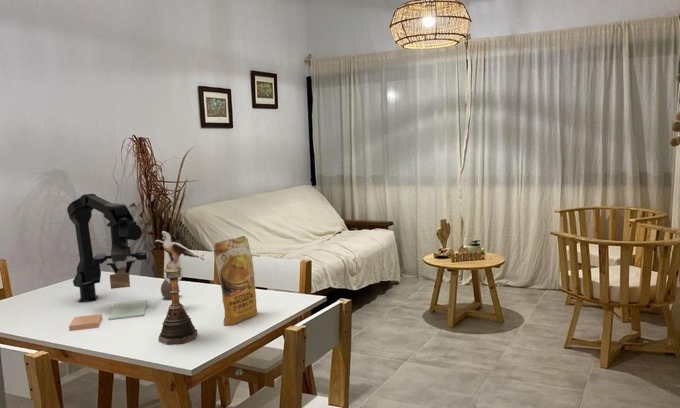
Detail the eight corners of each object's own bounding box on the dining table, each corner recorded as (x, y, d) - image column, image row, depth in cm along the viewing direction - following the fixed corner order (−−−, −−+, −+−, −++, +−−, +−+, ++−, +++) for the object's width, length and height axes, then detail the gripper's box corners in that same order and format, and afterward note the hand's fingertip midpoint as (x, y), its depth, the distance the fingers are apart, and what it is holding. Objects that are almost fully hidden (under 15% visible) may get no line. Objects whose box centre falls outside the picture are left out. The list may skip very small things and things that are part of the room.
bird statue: (191, 324, 189) (183, 222, 185) (216, 331, 181) (209, 224, 177) (148, 339, 176) (139, 230, 172) (173, 347, 168) (164, 233, 164)
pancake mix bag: (211, 325, 187) (206, 243, 184) (250, 309, 203) (246, 234, 199) (226, 328, 183) (220, 244, 180) (264, 312, 199) (260, 235, 196)
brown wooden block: (115, 280, 213) (114, 267, 212) (133, 278, 214) (132, 266, 214) (110, 288, 200) (109, 275, 199) (129, 286, 202) (128, 273, 201)
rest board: (114, 304, 216) (114, 303, 216) (146, 301, 219) (146, 299, 219) (108, 320, 197) (108, 318, 197) (144, 315, 200) (144, 314, 200)
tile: (74, 317, 196) (68, 326, 187) (101, 313, 199) (97, 322, 189) (75, 323, 196) (69, 332, 187) (102, 319, 199) (98, 328, 189)
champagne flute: (180, 312, 202) (175, 247, 199) (163, 312, 203) (158, 247, 201) (188, 307, 209) (184, 244, 206) (172, 306, 210) (167, 244, 207)
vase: (161, 301, 218) (159, 279, 217) (161, 296, 225) (160, 275, 224) (179, 299, 220) (177, 277, 219) (179, 294, 227) (178, 273, 226)
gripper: (88, 244, 198) (92, 287, 199) (144, 239, 203) (147, 281, 204) (93, 239, 208) (97, 280, 210) (146, 235, 213) (149, 274, 215)
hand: (123, 279), depth 210 cm, fingers closed on brown wooden block, 3 cm apart
